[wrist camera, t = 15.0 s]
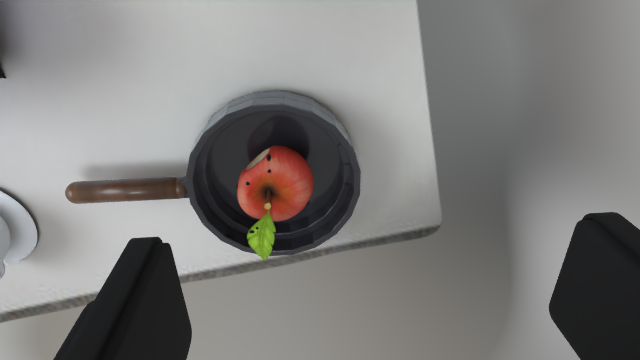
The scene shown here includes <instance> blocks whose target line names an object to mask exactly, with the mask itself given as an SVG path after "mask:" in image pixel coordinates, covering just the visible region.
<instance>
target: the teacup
mask: <svg viewBox="0 0 640 360" xmlns="http://www.w3.org/2000/svg"><path fill="white" fill-rule="evenodd" d="M36 243H37V230H36V226H35V224H34V221H33V219H32V218H31V216H30V215H29V213H28V212H27V211H26V210H25V209H24V208H23V207H22V206H21V205H20V204H19V203H18V202H17V201H16V200H14V199H13V198H11V197H10V196H8V195H6V194H5V193H3V192H1V191H0V279H1V278H2V277H3V275H4V273H5V265H4V264H10V263H14V262H18V261H20V260H22V259H24V258H26V257H27V256H28V255H29V254H30V253H31V252H32V251H33V250H34V248H35V246H36Z"/></svg>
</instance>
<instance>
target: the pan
mask: <svg viewBox="0 0 640 360" xmlns="http://www.w3.org/2000/svg"><path fill="white" fill-rule="evenodd" d="M275 145H281V146H285V147H288V148H290V149H292V150H294V151H296V152H297V153H299V154H300V155H301V156H302V157H303V158H304V159H305V160H306V162H307V163H308V164H309V166H310V168H311V171H312V174H313V178H314V187H313V192H312V195H311V198H310V200H309V201H310V202H309V205H306V206H305V207H304V208H303V209H302V210H301V211H300V212H299V213H298V214H296V215H295V216H293V217H291V218H289V219H287V220H283V221H273V223H274V226H275V229H276V232H275V233H274V232H273V233H274V237H275V238H274V244H273V245H272V244H271V246H272V252H271V254H270V255H269V256H278V255H293V254H297V253H300V252H303V251H306V250H309V249H312V248H315V247H317V246H319V245H320V244H322V243H323V242H325V241H326V240H328V239H329V238H331V237H333V236H334V235H336V234H337V233H338V231H339V230H340V229H341V228H342V227H343V225H344V224H345V223H346V222H347V221H348V220H349V218H350V217H351V216H352V213H353V211H354V208H355V206H356V203H357V200H358V198H359V195H360V173H361V171H360V168H359V165H358V162H357V159H356V156H355V153H354V150H353V147H352V144H351V141H350V138H349V135H348V133H347V131H346V130H345V128H344V127H343V126H342V124H341V123H340V122H339V121H338V119H337V118H336V117H335V116H334V114H333V113H332V112H331V111H329V110H328V109H326V108H325V107H323V106H322V105H320V104H319V103H317V102H316V101H314V100H312V99H311V98H309V97H305V96H301V95H298V94H294V93H290V92H287V91H264V92H254V93H252V94H249V95H246V96H244V97H241V98H238V99H235V100H233V101H231V102H229V103H228V104H227V105H226V106H224V107H223V108H222V109H221V110H219V111H218V112H217V113H216V114H214V115H213V116H212V117H211V118H210V120H209V121H208V123H207V125H206V126H205V128H204V130H203V131H202V133H201V135H200V137H199V138H198V140H197V142H196V144H195V146H194V148H193V150H192V152H191V154H190V157H189V163H188V169H187V175H186V184H187V189H188V193H189V198H190V203H191V205H192V207H193V208H194V210H195V212H196V213H197V215H198V217H199V218H200V220H201V222H202V223H203V225H204V226H205V227H207V228H208V229H209V230H210V231H211V232H212V233H213V234H214V235H216V236H217V237H218V238H219V239H220V240H222V241H223V242H225V243H228V244H230V245H232V246H234V247H236V248H238V249H240V250H242V251H245V252H250V253H255V254H257V253H256V252H255V251H254V250H253V249H252V248H251V246H250V245H249V243H248V240H249V239H247V234H248V232H249V230H250V229H251V227H252V226H253V225H254V224H255V223H257V222H258V221H259V220H260V219H257V218H254V217H251V216H250V215H248V214H247V213H245V212H244V210H243V209H242V208H241V206H240V204H239V202H238V197H237V188H236V184H238V181H239V177H240V175H241V173H242V171H243V169H244V168H245V167H246V166H247V165H248V164H249V163H250V162H251V161H253V160H254V159H255V158H256V157H257V156H258V155H260V154H261V153H262V152H263V151H265V150H266V149H268V148H270V147H272V146H275ZM196 192H197V193H196Z"/></svg>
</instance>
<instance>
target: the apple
mask: <svg viewBox="0 0 640 360" xmlns="http://www.w3.org/2000/svg"><path fill="white" fill-rule="evenodd" d="M313 187H314V178H313V174H312V171H311V168H310V166H309V164H308V163H307V162H306V160H305V159H304V158H303V157H302V156H301V155H300V154H299V153H297V152H296V151H294V150H292V149H290V148H288V147H285V146H281V145H275V146H272V147H270V148H268V149H266V150H265V151H263V152H262V153H261V154H260V155H258V156H257V157H256V158H255V159H254V160H253V161H251V162H250V163H249V164H248V165H247V166H246V167H245V168H244V169H243V171H242V173H241V175H240V177H239V181H238V184H236V188H237V197H238V202H239V204H240V206H241V208H242V209H243V210H244V212H245V213H247V214H248V215H250V216H251V217H254V218H257V219H260V220H259V221H258V222H257V223H255V224H254V225H253V226H252V227H251V229H250V230H249V232H248V234H247V239H249V240H248V243H249V245H250V246H251V248H252V249H253V250H254V251H255V252H256V253H257V254H258V255H259V256H261V258H262V259H263V260H265V259H266V258H267V257H268V256H269V255H270V254H271V252H272V246H271V244H272V245H273V244H274V238H275V237H274V233H275V232H276V229H275V226H274V223H273V221H283V220H287V219H289V218H291V217H293V216H295V215H296V214H298V213H299V212H300V211H301V210H302V209H303V208H304V207H305V206H306V205H309V202H310V201H309V200H310V198H311V195H312V192H313ZM273 232H274V233H273Z"/></svg>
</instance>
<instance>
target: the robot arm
mask: <svg viewBox="0 0 640 360" xmlns="http://www.w3.org/2000/svg"><path fill="white" fill-rule="evenodd" d="M549 312H550V315H551V318H552V320H553V321H554V323H555V324H556V326H557V327H558V328H559V330H560V331H561V332H562V334H563V335H564V337H565V338H566V340H567V341H568V342H569V344H570V345H571V347H572V348H573V349H574V351H575V352H576V353H577V355H578V356H579V358H580V359H581V360H640V230H639V229H638V228H636V227H635V226H634V225H633V224H632V223H630V222H629V221H628V220H627V219H625V218H624V217H623V216H621V215H620V214H618V213H614V212H607V213H590V214H587V215H585V216H584V217H583V219H582V220H581V221H579V222H578V223H577V224H576V227H575V229H574V232H573V235H572V238H571V241H570V244H569V247H568V250H567V253H566V256H565V259H564V262H563V265H562V268H561V271H560V274H559V277H558V280H557V283H556V285H555V289H554V291H553V294H552V297H551V301H550V304H549ZM191 330H192V329H191V324H190V320H189V316H188V312H187V308H186V305H185V300H184V297H183V293H182V289H181V285H180V281H179V277H178V273H177V269H176V265H175V261H174V257H173V254H172V250H171V246H170V244H169V243H162V240H161V239H160V238H159V237H147V238H133V239H131V240H130V241H129V242H128V244H127V246H126V247H125V249H124V251H123V252H122V254H121V256H120V258H119V259H118V261H117V263H116V264H115V266H114V268H113V270H112V271H111V273H110V275H109V276H108V278H107V280H106V282H105V283H104V285H103V287H102V288H101V290H100V292H99V294H98V295H97V297H96V299H95V301H92V302H90V303H89V304H87V306H86V307H85V308H84V310H83V311H82V313H81V314H80V316H79V318H78V319H77V321H76V323H75V325H74V326H73V328H72V330H71V331H70V333H69V334H68V336H67V338H66V339H65V341H64V343H63V344H62V346H61V348H60V349H59V351H58V353H57V354H56V357H55V358H54V360H186V359H187V355H188V351H189V347H190V343H191V337H192V331H191Z"/></svg>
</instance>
